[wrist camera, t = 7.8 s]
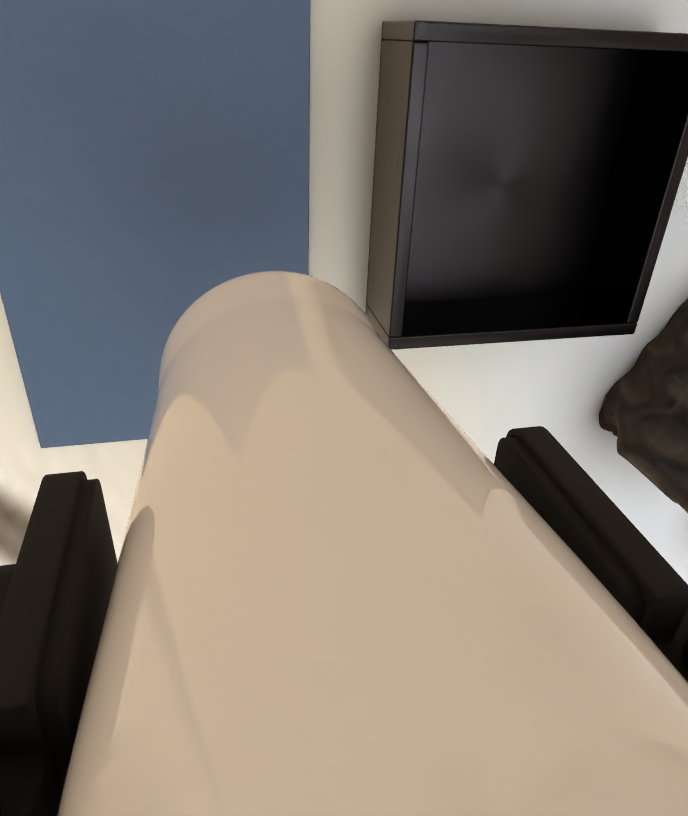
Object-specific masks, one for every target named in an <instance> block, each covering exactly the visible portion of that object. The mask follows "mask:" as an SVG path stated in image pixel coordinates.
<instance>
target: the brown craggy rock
mask: <svg viewBox="0 0 688 816" xmlns="http://www.w3.org/2000/svg"><path fill="white" fill-rule="evenodd" d="M599 424H600V426H601V428H603V429H604V430H608V431H611V432H613V435H615V436H617V437H618V438H617V451H618V453H619V454H620V455H621V456H622V457H624V458H625V459H626V460H627V461H629V462H630V463H631V464H632V465H633V466H634V467H635V468H637V469H638V470H639V471H640V472H641V473H642V474H643V475H644V476H646V477H647V478H648V479H649V480H650V481H651V482H652V483H653V484H654V485H655V486H657V487H658V488H659V489H660V490H661V491H662V492H663V493H664V494H665V495H666V496H667V497H669V498H670V499H671V500H672V501H673V502H675V503H677V504H679V505H680V506H681V507H682V508H683V509H684V510H685V511H686V512H687V513H688V300H687V301H686V302H685V303H684V304H682V305H681V306H680V308H679V309H678V310H677V311H676V313H675V314H674V315H673V317H672V318H671V320H670V322H669V323H668V325H667V326H666V328H665V329H664V330H663V331H662V332H661V333H660V334H659V336H657V337H656V338H655V339H654V340H652V341H651V342H650V343H649V344H648V345H647V346H646V347H645V348H644V349H643V351H642V353H641V355H640V357H639V359H638V361H637V363H636V365H635V366H634V367H633V368H632V370H631V371H630V372H629V373H628V374H626V375H625V376H624V377H622V378H621V379H620V380H619V381H618V382H617V383H616V384H615V385H614V386H613V387H612V388H611V390H610V391H609V392H608V394H607V395H606V397H605V400H604V403H603V406H602V408H601V411H600V413H599Z"/></svg>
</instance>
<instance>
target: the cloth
mask: <svg viewBox="0 0 688 816" xmlns="http://www.w3.org/2000/svg"><path fill="white" fill-rule="evenodd" d="M309 108H310V0H0V293H1V297H2V301H3V304H4V308H5V312H6V316H7V320H8V324H9V327H10V331H11V335H12V339H13V343H14V347H15V350H16V354H17V358H18V362H19V366H20V370H21V373H22V377H23V381H24V385H25V389H26V392H27V396H28V400H29V404H30V408H31V412H32V415H33V419H34V423H35V427H36V431H37V435H38V438H39V442H40V446H41V448H48V447H59V446H71V445H82V444H93V443H105V442H116V441H127V440H139V439H148V437H149V432H150V428H151V424H152V419H153V415H154V410H155V406H156V401H157V394H158V380H159V369H160V363H161V358H162V354H163V350H164V347H165V344H166V342H167V339H168V337H169V335H170V333H171V331H172V329H173V327H174V326H175V324H176V323H177V321H178V320H179V318H180V317H181V316H182V314H183V313H184V312H185V311H186V310H187V308H189V307H190V306H191V305H192V304H193V303H194V302H195V301H196V300H197V299H198V298H199V297H201V296H202V295H203V294H205V293H206V292H207V291H209V290H211V289H212V288H214V287H215V286H217V285H219V284H221V283H223V282H225V281H228V280H230V279H233V278H235V277H239V276H242V275H246V274H250V273H255V272H263V271H288V272H295V273H300V274H305V275H308V247H309Z"/></svg>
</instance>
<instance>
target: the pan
mask: <svg viewBox="0 0 688 816" xmlns="http://www.w3.org/2000/svg"><path fill="white" fill-rule="evenodd" d="M687 157H688V34H685V33H664V32H644V31H623V30H603V29H582V28H562V27H542V26H521V25H501V24H480V23H460V22H440V21H419V20H412V21H383V22H382V37H381V54H380V72H379V89H378V106H377V123H376V140H375V158H374V175H373V192H372V209H371V226H370V243H369V261H368V278H367V295H366V312H365V314H366V315H367V317H368V318H369V320H370V322H371V323H372V325H373V326H374V328H375V329H376V331H377V332H378V334H379V335H380V337H381V339H382V340H383V341H384V343H385V344H386V345H387V346H388V347H389V348H390V349H391V350H392V349H407V348H423V347H438V346H454V345H469V344H485V343H500V342H516V341H531V340H547V339H562V338H578V337H593V336H609V335H624V334H634V332H635V329H636V326H637V322H638V319H639V316H640V313H641V309H642V306H643V303H644V299H645V296H646V293H647V289H648V286H649V283H650V280H651V276H652V273H653V270H654V266H655V263H656V260H657V256H658V253H659V250H660V246H661V243H662V240H663V237H664V233H665V230H666V227H667V223H668V220H669V217H670V213H671V210H672V207H673V204H674V200H675V197H676V194H677V190H678V187H679V184H680V180H681V177H682V174H683V170H684V167H685V164H686V161H687Z"/></svg>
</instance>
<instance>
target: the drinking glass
mask: <svg viewBox="0 0 688 816" xmlns="http://www.w3.org/2000/svg"><path fill="white" fill-rule="evenodd" d="M57 816H688V682H687V680H686V679H685V678H684V677H683V676H682V674H681V673H680V672H679V671H678V670H677V669H676V667H675V666H674V665H673V664H672V663H671V662H670V660H669V659H668V658H667V657H666V656H665V655H664V653H663V652H662V651H661V650H660V649H659V648H658V646H657V645H656V644H655V643H654V642H653V641H652V639H651V638H650V637H649V636H648V635H647V634H646V632H645V631H644V630H643V629H642V628H641V627H640V625H639V624H638V623H637V622H636V621H635V620H634V619H633V617H632V616H631V615H630V614H629V613H628V612H627V611H626V610H625V609H624V607H623V606H622V605H621V604H620V603H619V602H618V601H617V600H616V598H615V597H614V596H613V595H612V594H611V593H610V592H609V591H608V589H607V588H606V587H605V586H604V585H603V584H602V583H601V582H600V581H599V579H598V578H597V577H596V576H595V575H594V574H593V573H592V572H591V570H590V569H589V568H588V567H587V566H586V565H585V564H584V563H583V562H582V561H581V559H580V558H579V557H578V556H577V555H576V554H575V553H574V552H573V551H572V550H571V548H570V547H569V546H568V545H567V544H566V543H565V542H564V541H563V540H562V539H561V538H560V536H559V535H558V534H557V533H556V532H555V531H554V530H553V529H552V528H551V527H550V525H549V524H548V523H547V522H546V521H545V520H544V519H543V518H542V517H541V516H540V515H539V513H538V512H537V511H536V510H535V509H534V508H533V507H532V506H531V505H530V504H529V502H528V501H527V500H526V499H525V498H524V497H523V496H522V495H521V494H520V493H519V492H518V490H517V489H516V488H515V487H514V486H513V485H512V484H511V483H510V482H509V481H508V480H507V478H506V477H505V476H504V475H503V474H502V473H501V472H500V471H499V470H498V469H497V467H496V466H495V465H494V464H493V463H492V462H491V461H490V460H489V459H488V458H487V457H486V455H485V454H484V453H483V452H482V451H481V450H480V449H479V448H478V447H477V446H476V444H475V443H474V442H473V441H472V440H471V439H470V438H469V437H468V436H467V434H466V433H465V432H464V431H463V430H462V429H461V428H460V427H459V426H458V425H457V423H456V422H455V421H454V420H453V419H452V418H451V417H450V416H449V415H448V414H447V412H446V411H445V410H444V409H443V408H442V407H441V406H440V405H439V404H438V402H437V401H436V400H435V399H434V398H433V397H432V396H431V395H430V393H429V392H428V391H427V390H426V389H425V388H424V387H423V386H422V385H421V383H420V382H419V381H418V380H417V379H416V378H415V377H414V376H413V374H412V373H411V372H410V371H409V370H408V369H407V368H406V367H405V365H404V364H403V363H402V362H401V361H400V360H399V359H398V358H397V356H396V355H395V354H394V353H393V352H392V351H391V349H390V348H389V347H388V346H387V345H386V344H385V343H384V341H383V340H382V339H381V337H380V335H379V334H378V332H377V331H376V329H375V328H374V326H373V325H372V323H371V322H370V320H369V319H368V317H367V316H366V315H365V313H364V312H363V311H362V310H361V308H360V307H359V306H358V305H357V304H356V303H355V302H354V301H353V300H352V299H351V298H349V297H348V296H347V295H346V294H345V293H343V292H342V291H340V290H339V289H337V288H336V287H334V286H332V285H330V284H329V283H327V282H325V281H322V280H320V279H317V278H315V277H312V276H308V275H305V274H300V273H295V272H288V271H263V272H255V273H250V274H246V275H242V276H239V277H235V278H233V279H230V280H228V281H225V282H223V283H221V284H219V285H217V286H215V287H214V288H212V289H211V290H209V291H207V292H206V293H205V294H203V295H202V296H201V297H199V298H198V299H197V300H196V301H195V302H194V303H193V304H192V305H191V306H190V307H189V308H187V310H186V311H185V312H184V313H183V314H182V316H181V317H180V318H179V320H178V321H177V323H176V324H175V326H174V327H173V329H172V331H171V333H170V335H169V337H168V339H167V342H166V344H165V347H164V350H163V354H162V358H161V363H160V369H159V380H158V394H157V401H156V406H155V410H154V415H153V419H152V424H151V428H150V432H149V437H148V441H147V445H146V449H145V454H144V458H143V462H142V466H141V470H140V475H139V479H138V483H137V487H136V491H135V496H134V500H133V504H132V508H131V512H130V516H129V520H128V524H127V528H126V532H125V537H124V541H123V545H122V549H121V553H120V557H119V561H118V565H117V569H116V573H115V577H114V581H113V585H112V589H111V593H110V597H109V601H108V605H107V609H106V613H105V617H104V621H103V625H102V629H101V633H100V637H99V641H98V645H97V649H96V653H95V657H94V662H93V666H92V670H91V674H90V678H89V682H88V686H87V690H86V694H85V698H84V702H83V706H82V710H81V714H80V718H79V722H78V726H77V731H76V735H75V739H74V743H73V747H72V752H71V756H70V760H69V764H68V769H67V773H66V777H65V781H64V785H63V790H62V794H61V798H60V802H59V807H58V812H57Z"/></svg>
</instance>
